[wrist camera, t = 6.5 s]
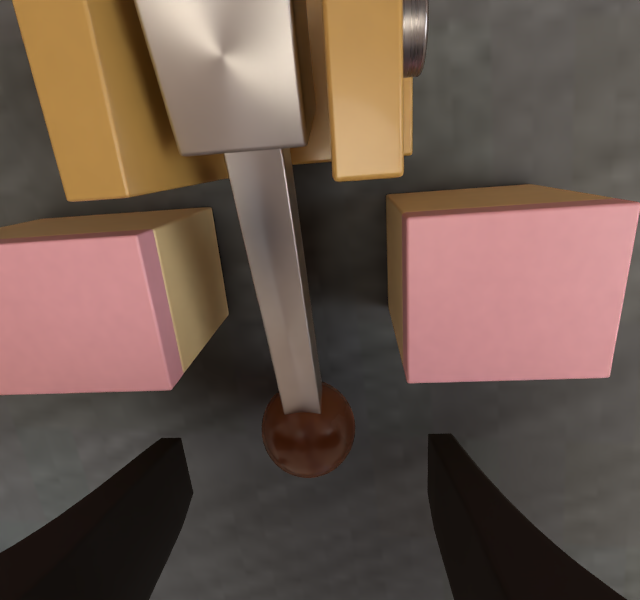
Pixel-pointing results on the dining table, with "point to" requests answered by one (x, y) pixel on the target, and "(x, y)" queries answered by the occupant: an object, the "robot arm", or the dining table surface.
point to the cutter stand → (151, 116)
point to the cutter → (257, 186)
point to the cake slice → (507, 282)
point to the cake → (107, 300)
